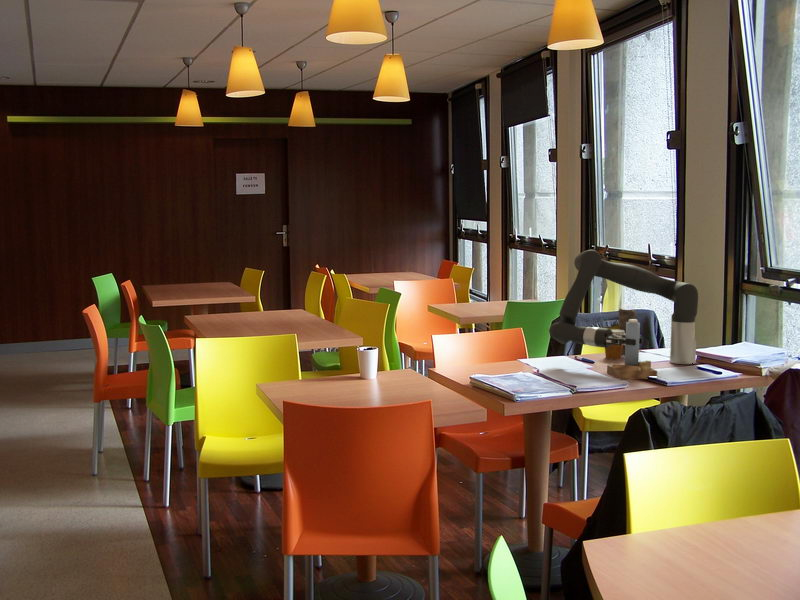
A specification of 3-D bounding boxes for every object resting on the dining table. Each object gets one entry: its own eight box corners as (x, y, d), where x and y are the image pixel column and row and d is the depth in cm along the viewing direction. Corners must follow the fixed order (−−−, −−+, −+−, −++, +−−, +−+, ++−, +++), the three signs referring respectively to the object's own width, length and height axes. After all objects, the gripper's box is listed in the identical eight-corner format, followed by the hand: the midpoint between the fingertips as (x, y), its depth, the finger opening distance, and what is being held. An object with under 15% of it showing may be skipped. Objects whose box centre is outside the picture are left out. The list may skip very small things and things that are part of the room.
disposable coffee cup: (622, 356, 360) (623, 329, 359) (626, 360, 351) (627, 332, 350) (600, 356, 361) (601, 328, 360) (603, 359, 352) (604, 331, 351)
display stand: (642, 371, 325) (643, 356, 324) (659, 379, 310) (660, 363, 309) (604, 372, 323) (605, 357, 322) (619, 379, 308) (620, 363, 307)
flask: (635, 363, 319) (636, 318, 317) (640, 365, 314) (642, 320, 312) (622, 363, 318) (624, 318, 316) (627, 365, 313) (629, 320, 312)
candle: (614, 353, 369) (615, 308, 367) (627, 352, 372) (628, 307, 370) (625, 355, 362) (626, 310, 360) (638, 354, 365) (640, 309, 363)
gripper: (589, 329, 319) (630, 333, 308) (606, 325, 329) (647, 330, 318) (588, 348, 319) (630, 353, 308) (606, 344, 330) (647, 349, 319)
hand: (638, 341), depth 313 cm, fingers closed on flask, 5 cm apart
